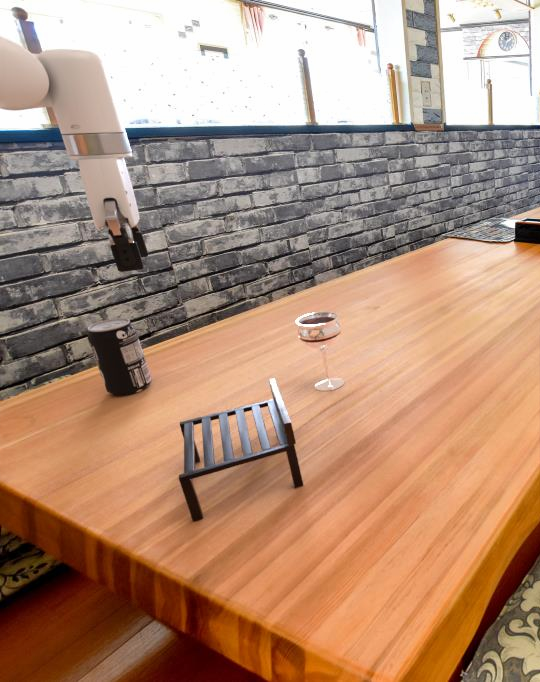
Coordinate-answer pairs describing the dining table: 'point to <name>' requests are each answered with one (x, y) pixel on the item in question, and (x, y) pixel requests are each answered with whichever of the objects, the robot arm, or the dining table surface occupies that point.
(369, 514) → the dining table surface
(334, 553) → the dining table surface
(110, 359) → the beverage can
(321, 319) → the wineglass
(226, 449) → the rack
